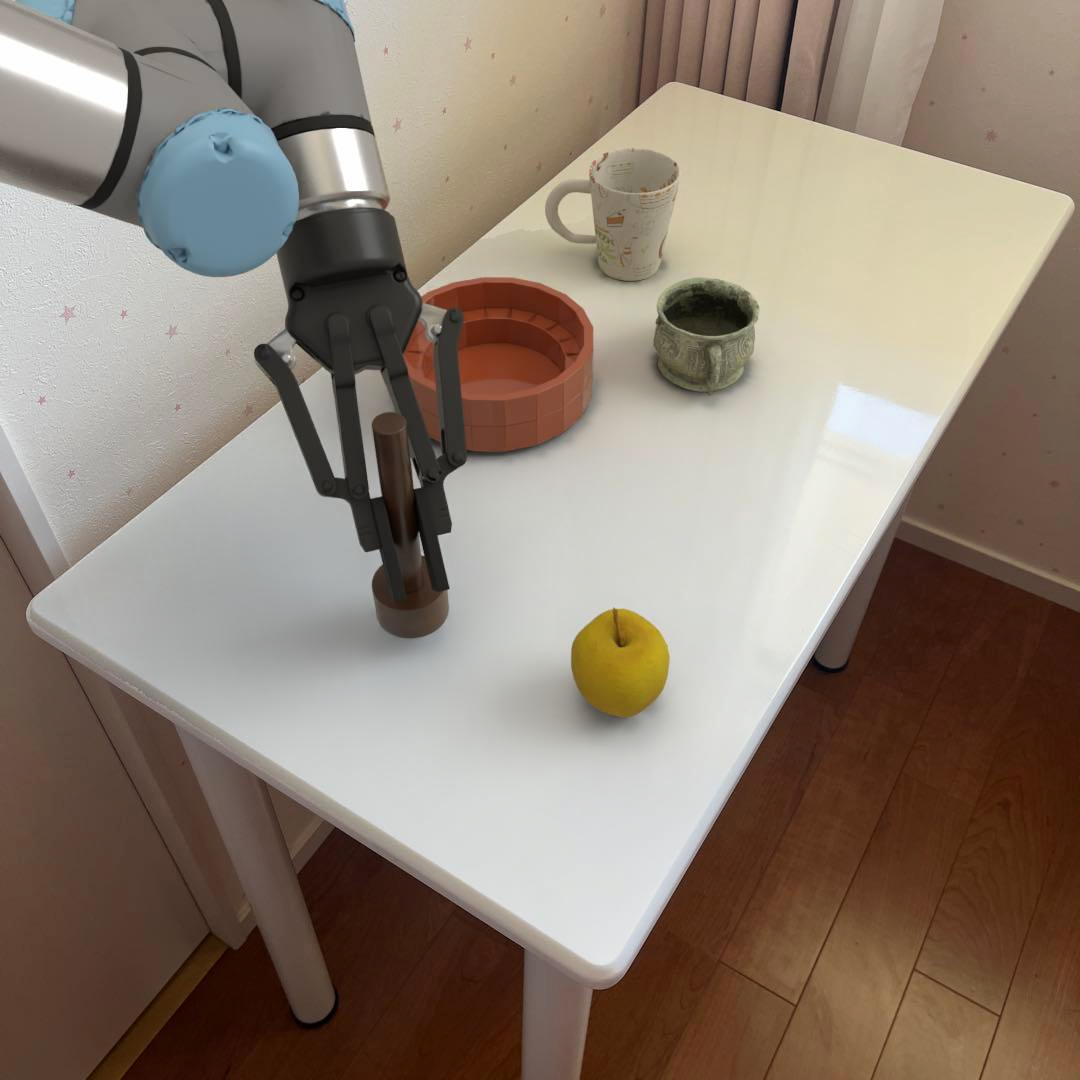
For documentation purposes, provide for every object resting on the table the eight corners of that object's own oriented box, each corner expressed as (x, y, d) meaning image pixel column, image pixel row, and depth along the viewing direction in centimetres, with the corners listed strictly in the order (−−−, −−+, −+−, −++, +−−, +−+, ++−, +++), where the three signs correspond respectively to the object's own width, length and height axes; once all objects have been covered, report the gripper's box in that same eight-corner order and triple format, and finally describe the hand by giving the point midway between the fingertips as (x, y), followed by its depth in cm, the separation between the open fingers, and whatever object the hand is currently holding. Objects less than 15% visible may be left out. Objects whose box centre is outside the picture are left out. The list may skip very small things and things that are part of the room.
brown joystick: (371, 638, 74) (339, 451, 62) (381, 581, 78) (351, 394, 65) (445, 639, 74) (428, 453, 62) (451, 583, 78) (436, 395, 65)
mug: (667, 292, 105) (677, 196, 98) (537, 280, 106) (537, 186, 99) (674, 244, 111) (683, 151, 103) (550, 234, 112) (551, 141, 105)
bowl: (387, 455, 90) (379, 398, 85) (409, 331, 101) (403, 275, 97) (591, 458, 89) (594, 401, 85) (590, 334, 101) (592, 278, 96)
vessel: (643, 326, 101) (648, 267, 97) (738, 323, 102) (747, 264, 97) (659, 411, 93) (665, 351, 89) (763, 407, 94) (774, 347, 89)
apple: (600, 646, 76) (604, 569, 71) (681, 687, 74) (693, 612, 68) (550, 710, 73) (550, 636, 67) (634, 756, 70) (642, 683, 65)
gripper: (442, 218, 73) (522, 564, 74) (211, 257, 70) (299, 619, 71) (460, 183, 66) (548, 568, 67) (203, 225, 62) (301, 629, 64)
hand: (419, 593), depth 69 cm, fingers closed on brown joystick, 2 cm apart
